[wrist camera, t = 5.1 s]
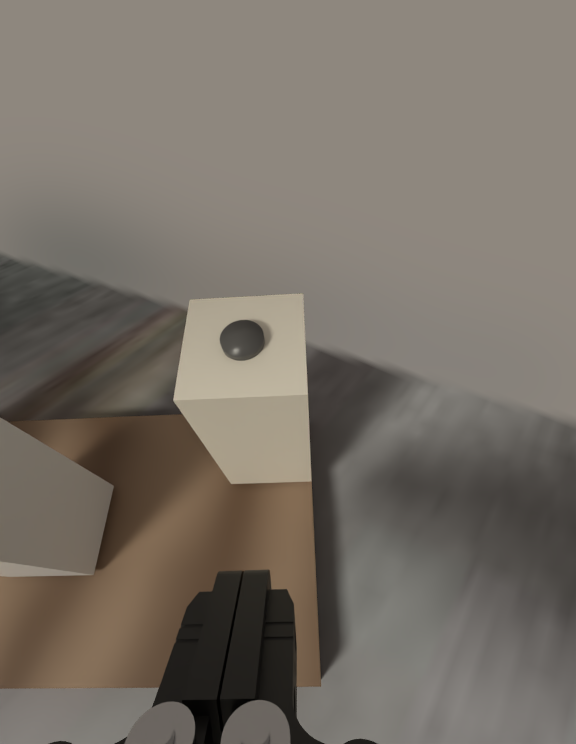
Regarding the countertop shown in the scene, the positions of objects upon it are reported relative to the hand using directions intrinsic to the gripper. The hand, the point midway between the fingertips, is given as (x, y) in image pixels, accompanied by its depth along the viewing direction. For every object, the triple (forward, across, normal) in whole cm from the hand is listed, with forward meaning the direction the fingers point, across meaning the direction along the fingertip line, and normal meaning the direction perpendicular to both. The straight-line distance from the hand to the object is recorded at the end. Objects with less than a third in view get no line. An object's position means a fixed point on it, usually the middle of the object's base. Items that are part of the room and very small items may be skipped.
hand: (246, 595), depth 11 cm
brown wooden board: (+8, +10, +3) cm, 13 cm away
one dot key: (+9, 0, -1) cm, 9 cm away
